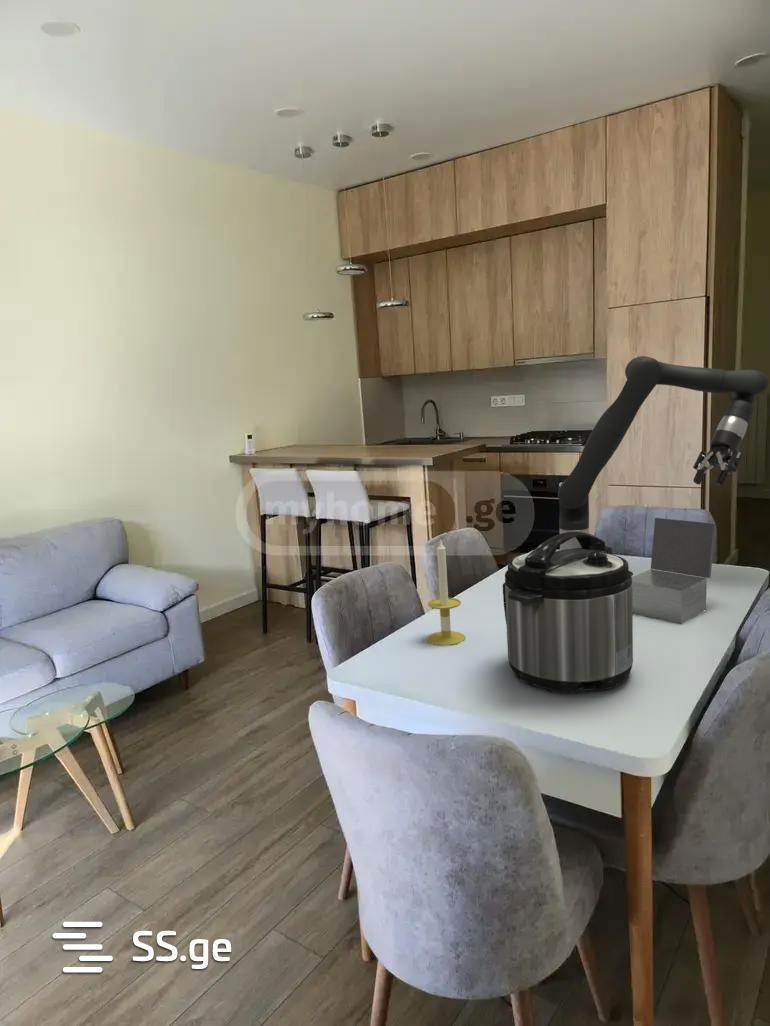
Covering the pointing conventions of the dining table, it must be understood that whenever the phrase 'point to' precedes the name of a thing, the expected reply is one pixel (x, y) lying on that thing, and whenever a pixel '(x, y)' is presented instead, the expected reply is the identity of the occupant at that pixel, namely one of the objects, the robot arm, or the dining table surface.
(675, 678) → the dining table surface
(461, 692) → the dining table surface
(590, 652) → the pressure cooker
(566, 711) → the dining table surface
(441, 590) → the candle
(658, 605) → the grey metal box
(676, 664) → the dining table surface
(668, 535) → the lid
